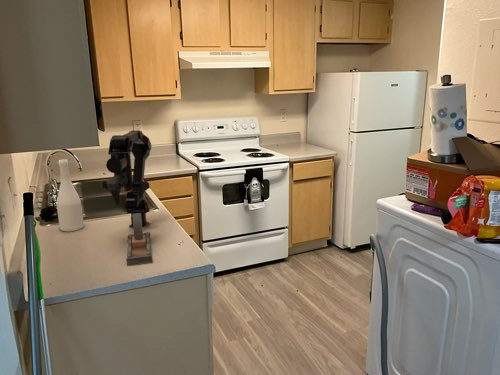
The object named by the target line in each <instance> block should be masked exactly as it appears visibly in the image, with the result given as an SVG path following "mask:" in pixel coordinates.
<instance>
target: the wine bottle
mask: <svg viewBox="0 0 500 375" xmlns="http://www.w3.org/2000/svg"><path fill="white" fill-rule="evenodd" d="M58 166H59V172H60V174H59V175H60V184H59V185H60V186H59V189H58V194H57V198H56V209H57V217H58V218H57V219H58V224H59V229H60V230H61V231H62V232H74V231H79V230H81V229H82V228H83V227H84V225H85V224H84V216H83V209H82V200H81V198H80V196H79V194H78V191H77V190H76V189H75V187H74V185H73V182H72V180H71V176H70V170H69V169H70V168H69V161H68V159H65V158H64V159H63V158H62V159H59V160H58Z"/></svg>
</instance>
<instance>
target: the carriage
mask: <svg viewBox="0 0 500 375" xmlns="http://www.w3.org/2000/svg"><path fill="white" fill-rule="evenodd" d="M132 218H133V227H132V228H133V234H134V236H132V246H133V248H135V247H144V246H146V238H145V235H143V233H144V230H143V228H142V219H141V213H134V214H132Z"/></svg>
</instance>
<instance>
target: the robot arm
mask: <svg viewBox="0 0 500 375" xmlns="http://www.w3.org/2000/svg"><path fill="white" fill-rule="evenodd" d="M151 150H152V142H151V140H150V138H149V137H148V136H147V135H145V134H144V133H143V131H142V130H135V129H134V130H130V131H129V132H127V133H124V134H123V135H122V134H119V135H118V134H117V135H116V134H115V135H112V136H111V138H110V140H109V147H108V151H107V152H108V153H107V154H108V156H109V155H110V158H109V159H107V161H106V164H105V166H106V168H107V170H108V171H109V172H110V173H112V174H113V176H112V177H111V178H108V179H105V180H102V182H101V188H102V189H104V190H105V191H107V192H109V193H110V195H111V196H112V198H113V200H114V202H115V204H116V205H117V206H119V205H120V199H121V198H120V196H121V195H120V194H121V189H122V188H131V190H130V191H128V192H127V193H126V198H125V202H124V207H125V210H126V214H130V222H131V223H130V225H128V227H129V228H133V218H132V214H134V213H141V219H142V229H143V228H144V227H146V226H148V225H150V222H147V214H148V213H150V205H149V202H148V201H147V196H146V195H145V192H146V191H148V190H149V189H150V187H151V186H150V183H149V182H148V181H145V170H146V169H145V168H146V160H147V158H148V157H149V156H150V154H151ZM131 154H132V156H133V157H134V158H133V159H134V162H133V168H132V160H131Z"/></svg>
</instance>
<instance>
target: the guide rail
mask: <svg viewBox="0 0 500 375" xmlns="http://www.w3.org/2000/svg"><path fill="white" fill-rule="evenodd" d="M143 235H145V238H146V246H144V247H135V248H133V246H132V236H134V233H133V234H132V233H131V234H130V233H129V234H128V235H127V254H126V258H125V259H126V266H136V265H142V264H150V263H153V258H152V257H153V256H152V244H151V243H152V242H151V232H143Z"/></svg>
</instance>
